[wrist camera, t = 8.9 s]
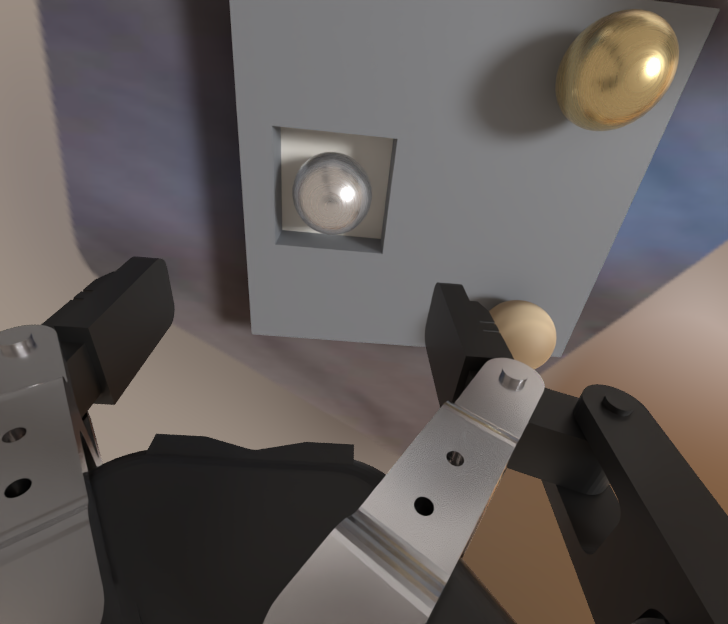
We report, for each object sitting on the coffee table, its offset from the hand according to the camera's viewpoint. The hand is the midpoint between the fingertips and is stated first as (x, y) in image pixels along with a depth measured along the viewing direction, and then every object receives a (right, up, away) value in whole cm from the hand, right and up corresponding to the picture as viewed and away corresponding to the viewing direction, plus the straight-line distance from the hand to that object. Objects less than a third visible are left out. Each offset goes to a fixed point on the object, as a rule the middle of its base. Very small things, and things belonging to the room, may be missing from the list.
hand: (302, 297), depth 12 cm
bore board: (+6, +7, +13) cm, 16 cm away
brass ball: (+13, +10, +5) cm, 17 cm away
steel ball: (0, +6, +10) cm, 12 cm away
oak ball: (+11, -2, +13) cm, 17 cm away
